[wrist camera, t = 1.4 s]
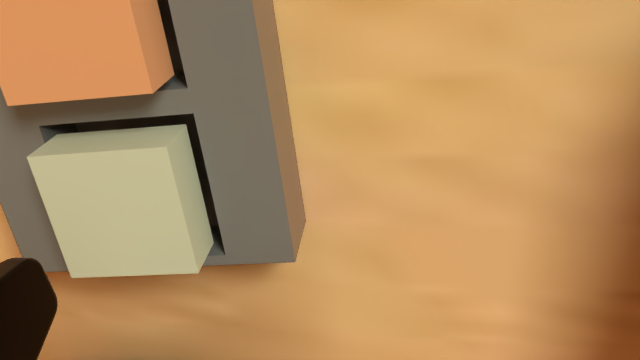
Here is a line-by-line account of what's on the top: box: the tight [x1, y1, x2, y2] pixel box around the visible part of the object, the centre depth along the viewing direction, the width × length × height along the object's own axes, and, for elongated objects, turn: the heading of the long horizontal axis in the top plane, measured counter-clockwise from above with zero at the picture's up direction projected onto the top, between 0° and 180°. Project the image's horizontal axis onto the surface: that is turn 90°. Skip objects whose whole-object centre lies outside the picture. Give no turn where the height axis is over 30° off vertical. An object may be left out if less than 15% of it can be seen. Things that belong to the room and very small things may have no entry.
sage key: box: [27, 124, 214, 278], centre depth 19 cm, size 4×4×2 cm
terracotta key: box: [0, 0, 174, 106], centre depth 16 cm, size 4×4×2 cm
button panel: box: [0, 0, 306, 272], centre depth 18 cm, size 18×10×3 cm, turn 7°
